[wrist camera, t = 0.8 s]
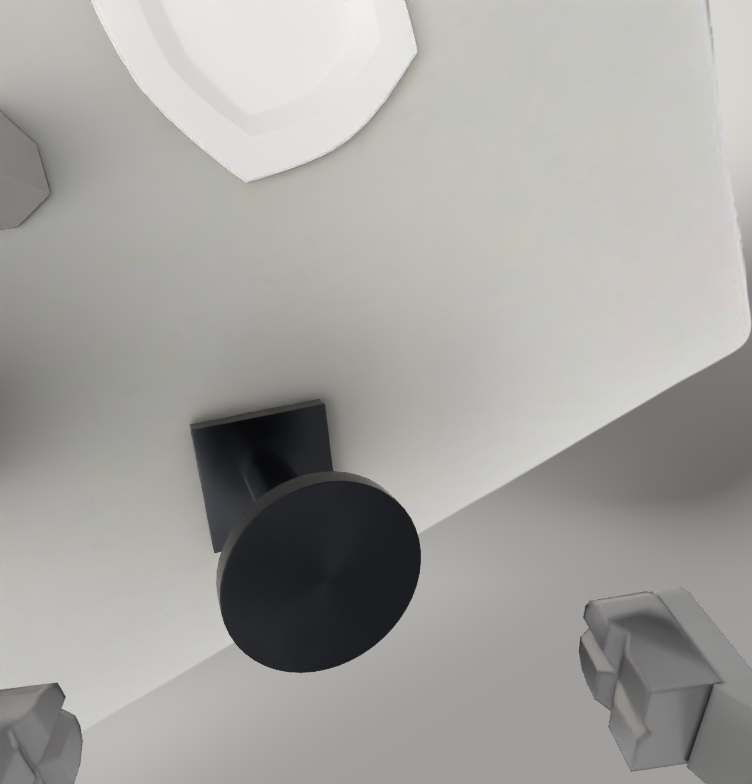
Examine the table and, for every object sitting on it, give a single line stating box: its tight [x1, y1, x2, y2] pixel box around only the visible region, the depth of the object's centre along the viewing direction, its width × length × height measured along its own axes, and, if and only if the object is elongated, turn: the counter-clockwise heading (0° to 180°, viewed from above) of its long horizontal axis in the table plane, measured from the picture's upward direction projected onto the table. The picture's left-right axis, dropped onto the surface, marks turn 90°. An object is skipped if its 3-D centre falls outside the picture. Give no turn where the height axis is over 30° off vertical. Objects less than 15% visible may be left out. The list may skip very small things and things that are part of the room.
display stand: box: [190, 399, 421, 673], centre depth 37 cm, size 11×11×16 cm
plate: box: [91, 0, 418, 183], centre depth 36 cm, size 19×19×2 cm
